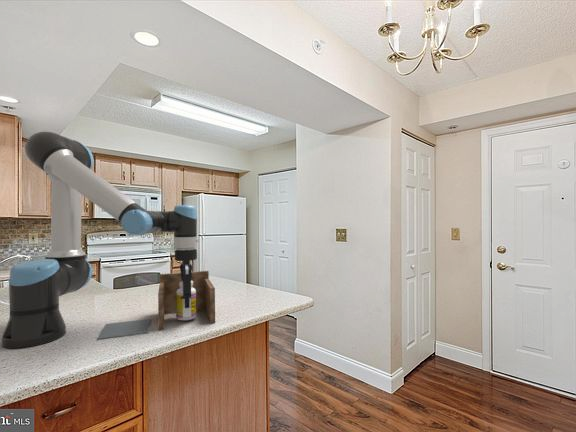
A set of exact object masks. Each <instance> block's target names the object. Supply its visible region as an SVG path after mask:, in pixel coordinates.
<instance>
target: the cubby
mask: <svg viewBox="0 0 576 432" xmlns="http://www.w3.org/2000/svg"><path fill="white" fill-rule="evenodd" d="M209 275H210V273H209V270H201V271H192V277H191V281H193V288H194V289H195V290H196V311H202V310H203V311H204V310H205V313H206V315H207V317H208V320H209V322H210V324H211V325H212V324H216V288H215V285H213V283H212V282H211V280H210V279H209V278H210V276H209ZM181 281H182V278H181V272H173V273H172V272H171V273H160V274H159V286H158V287H159V288H158V293H157V299H158V300H157V305H158V306H157V308H158V312H157V313H158V318H157V319H158V320H157V321H158V331H164V329H165V315H168V314H169V315H170V314H176V292H177V290H178V289H180V286H179V282H181Z"/></svg>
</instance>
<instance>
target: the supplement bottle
mask: <svg viewBox="0 0 576 432" xmlns="http://www.w3.org/2000/svg"><path fill="white" fill-rule="evenodd" d="M179 286H180V289H178V290H177V292H176V313H175V314H176V319H177V320H179V321H190V320H193V319H195V318H197V310H196V290H195V289H194V288H193V281H191V295H192V296H191V317H184V318H183V299H181V297H183V281H181V282H179Z"/></svg>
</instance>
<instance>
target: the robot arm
mask: <svg viewBox="0 0 576 432" xmlns="http://www.w3.org/2000/svg"><path fill="white" fill-rule="evenodd" d="M24 152H25V154H26V156H27V158H28V160H29V161H30V162H31V163H32V164H33V165H35V166H36V167H37V168H39V169H40V170H42V171H43V172H45V174H46V175H45V176H46V177H47V178H48V179H49V180H50V181H51V204H50V205H51V210H50V211H51V214H50V215H51V220H50V221H51V222H50V251H49V252H47V254H45V256H44V259H42V258H41V259H35V260H29V261H25V262H21V263H18V264H16V265H14V266H12V267H11V268H10V270H9V278H8V287H9V288H8V292H9V293H8V294H9V298H8V299H9V318H8V321H7V323H6V326H5V327H4V330H3V331H4V332H3V334H2V336H1V347H3V348H6V349H21V348H22V349H24V348H28V347H29V348H30V347H35V346H39V345H43V344H46V343H49V342H53V341H56V340H57V339H60V338H62V337H63V336H65V335H66V333H67V332H66V331H67V326H66V323H65V320H64V318H63V316H62V313H61V311H60V297H61V296H65V295H66V294H69V293H74V292H76V291H78V290H81V289H82V288H84V287H85V286H86V285H87V284H89V282H90V280H91V278H92V276H93V267H92V264H91V263H89V261H88V259H87V253H86V252H85V251H84V250H83V249H82V245H81V244H82V199H83V198H82V196H84V197H85V198H86V199H87V200H89V201H91V202H92V203H93V204H95V205H96V206H97V207H99V209H101V210H103V211H104V212H105V213H107V214H109V216H111V217H112V218H113V219H115V220H117V221H118V222H119V223H120V224H121V226H122V228H123V230H124V231H125V232H126V233H127V234H130V235H135V236H143V235H147V234H157V233H174V237H173V239H174V240H173V241H174V247H173V248H174V249H175V250H174V261H176V262H182V263H181V264H180V265H179V270H180V273H181V278H182V281H183V297H181V299H183V318H184V317H191V296H192V295H191V277H192V272H193V271H192V270H193V265H192V264H191V261H195V260H197V258H198V250H197V247H198V246H197V245H198V244H197V242H199V239H198V238H197V233H198V232H197V227H198V225H197V224H198V221H197V220H198V216H197V208H196V206H194V205H192V204H191V205H190V204H189V205H183V204H182V205H181V204H180V205H174V208H173V210H169V211H167V210H166V211H165V210H164V211H162V210H161V211H159V210H146V209H145V208H144V207H143V206H141V205H139V204H138V203H137V202H136V201H134V200H133V199H131V198H130V197H129V196H127V195H126V194H125V193H124V192H122V191H120V190H119V189H118V188H117V187H115V186H114V185H112V184H111V183H109V182H108V181H106V180H105V178H103V177H102V176H100V175H98V174H97V173H96V172H95V171H93V170H92V168H93V166H94V161H95V160H94V155H93V153H92V151H91V150H90V149H89V148H88V147H87V146H86V145H84V144H83V143H81V142H79V141H77V140H74V139H70V138H68V137H66V136H63V135H60V134H58V133H55V132H52V131H40V132H35V133H33V134H32V135H30V136H29V137H28V139H26V142H25V144H24Z"/></svg>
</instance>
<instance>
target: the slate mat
mask: <svg viewBox="0 0 576 432" xmlns="http://www.w3.org/2000/svg"><path fill="white" fill-rule="evenodd" d="M151 319H152V318H145V319H144V318H143V319H135V320H127V321H119V322H110V323H105V325H104V326H103V328H102V329H101V332H100V333H99V334H98V336H97V338H96V340H97V341H98V340H99V341H100V340H101V341H102V340H107V339H114V338H122V337H123V338H124V337H129V336H136V335H144V334H149V330H150V326H151Z"/></svg>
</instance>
